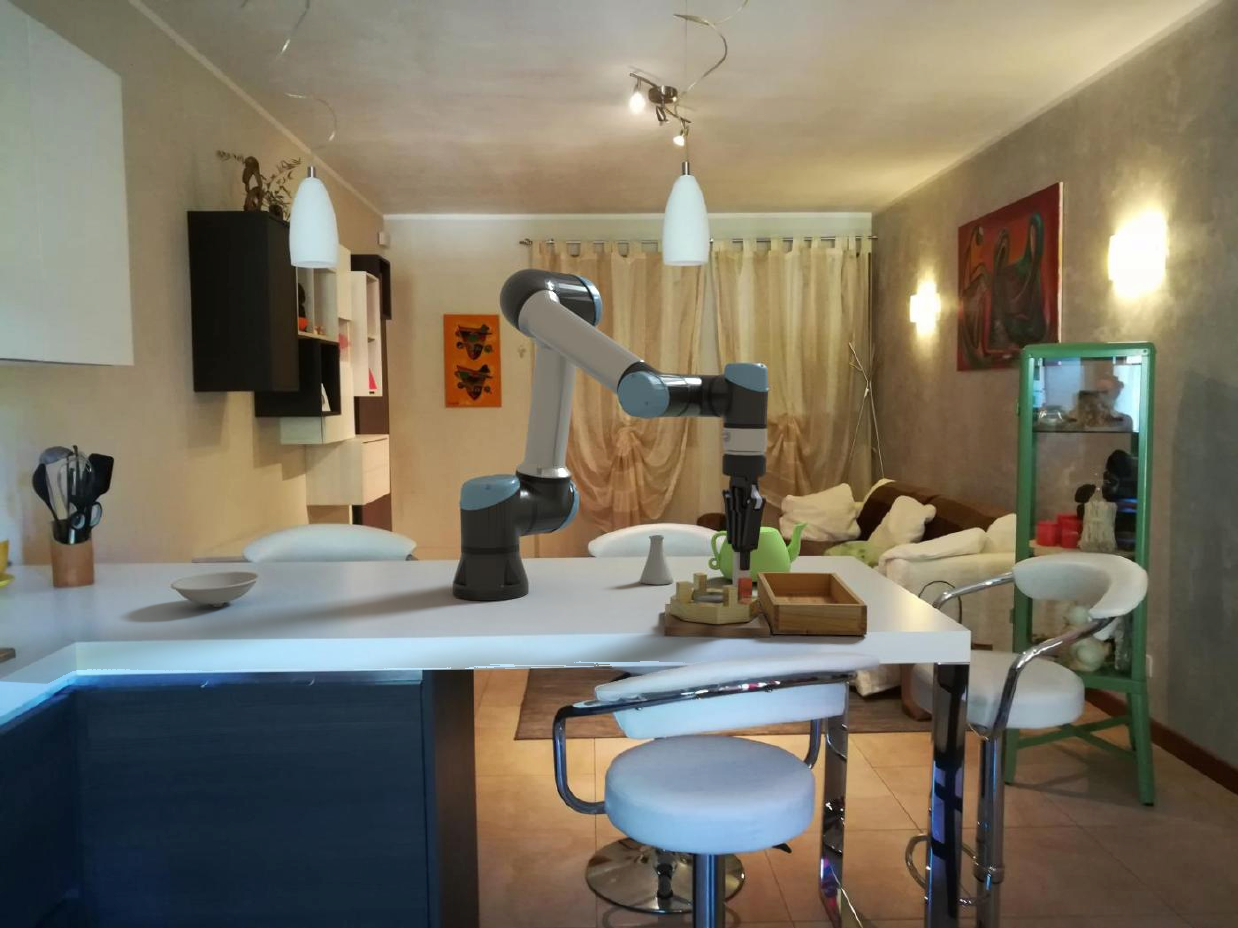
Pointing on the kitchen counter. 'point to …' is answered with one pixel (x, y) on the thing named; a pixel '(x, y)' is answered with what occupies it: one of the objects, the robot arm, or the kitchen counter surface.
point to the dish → (216, 586)
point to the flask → (656, 564)
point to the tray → (810, 604)
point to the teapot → (760, 553)
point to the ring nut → (733, 609)
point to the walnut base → (738, 629)
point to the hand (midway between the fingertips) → (741, 587)
